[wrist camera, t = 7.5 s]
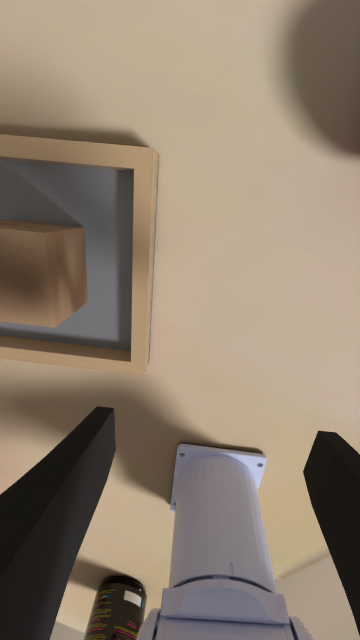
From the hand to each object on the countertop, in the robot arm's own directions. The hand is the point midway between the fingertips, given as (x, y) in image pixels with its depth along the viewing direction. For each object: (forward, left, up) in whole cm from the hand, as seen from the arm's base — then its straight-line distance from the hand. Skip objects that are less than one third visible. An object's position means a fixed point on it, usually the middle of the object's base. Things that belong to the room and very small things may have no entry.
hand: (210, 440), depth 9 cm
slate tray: (+3, +11, -10) cm, 15 cm away
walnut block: (+3, +11, -10) cm, 15 cm away
